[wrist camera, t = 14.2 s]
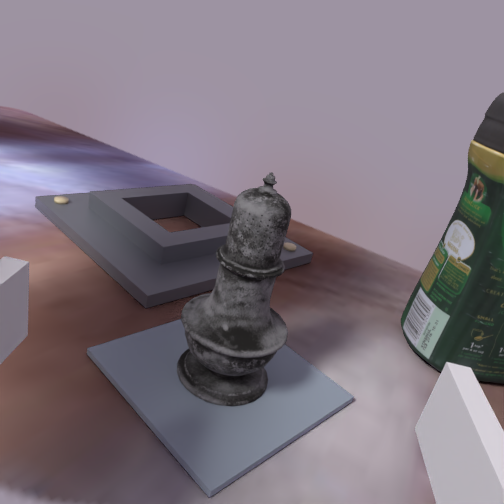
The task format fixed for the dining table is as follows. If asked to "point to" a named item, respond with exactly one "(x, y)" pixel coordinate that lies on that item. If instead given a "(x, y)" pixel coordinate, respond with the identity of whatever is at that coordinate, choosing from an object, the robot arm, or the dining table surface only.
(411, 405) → the dining table surface
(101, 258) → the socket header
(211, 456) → the slate mat
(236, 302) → the salt shaker
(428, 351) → the coffee jar
